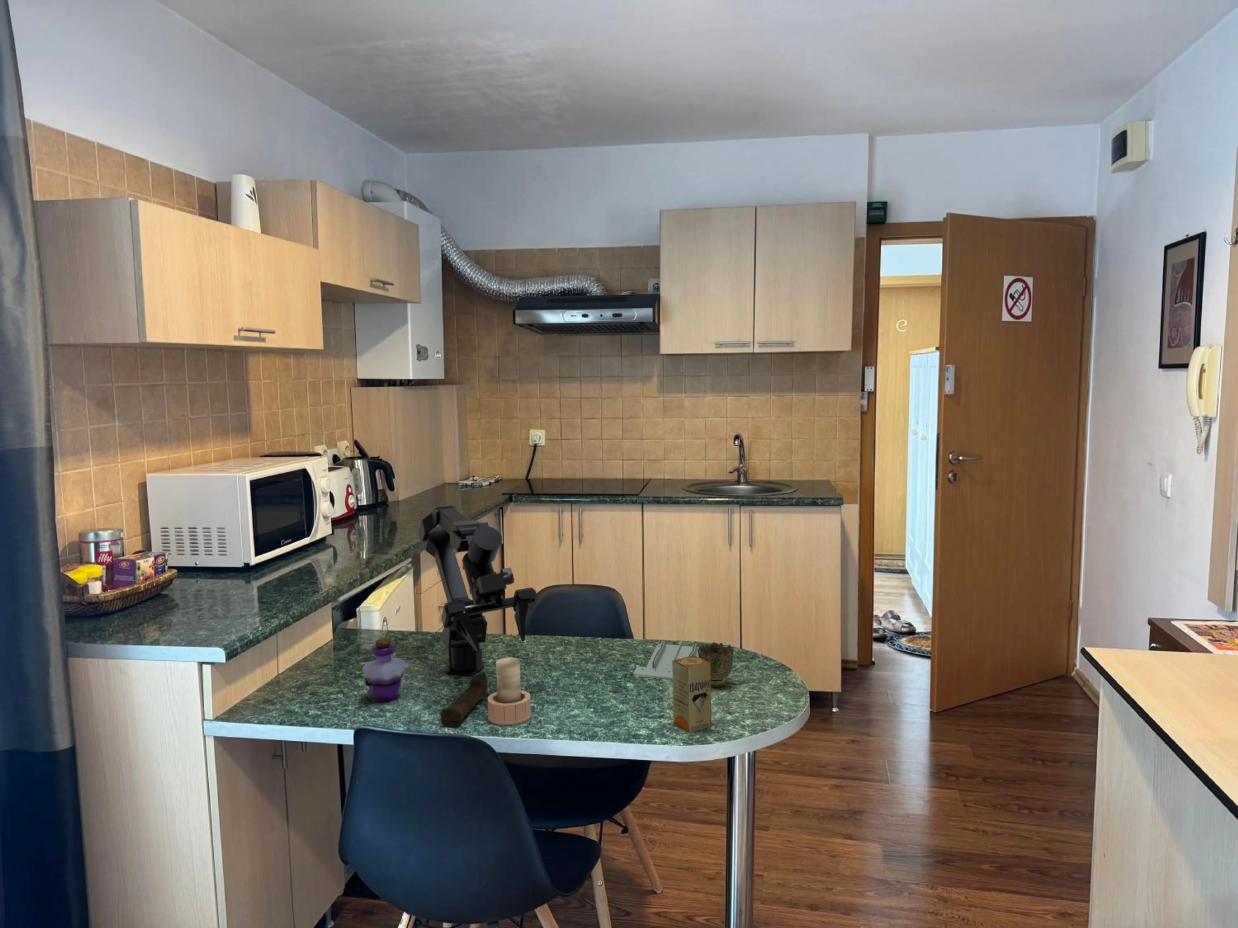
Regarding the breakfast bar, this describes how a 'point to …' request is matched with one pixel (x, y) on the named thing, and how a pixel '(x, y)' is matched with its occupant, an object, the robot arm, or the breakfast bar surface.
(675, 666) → the shoe polish box
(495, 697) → the terracotta cup
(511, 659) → the birch peg
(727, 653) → the brown speckled footed container
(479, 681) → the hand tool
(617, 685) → the breakfast bar surface
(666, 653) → the metal bracket
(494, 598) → the robot arm
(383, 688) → the potion bottle
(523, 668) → the breakfast bar surface
